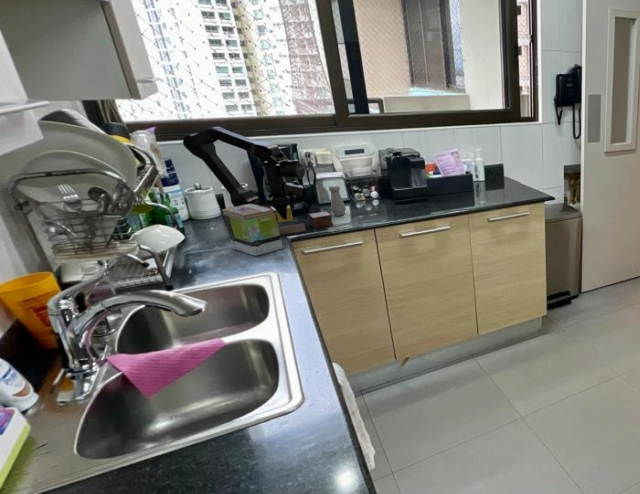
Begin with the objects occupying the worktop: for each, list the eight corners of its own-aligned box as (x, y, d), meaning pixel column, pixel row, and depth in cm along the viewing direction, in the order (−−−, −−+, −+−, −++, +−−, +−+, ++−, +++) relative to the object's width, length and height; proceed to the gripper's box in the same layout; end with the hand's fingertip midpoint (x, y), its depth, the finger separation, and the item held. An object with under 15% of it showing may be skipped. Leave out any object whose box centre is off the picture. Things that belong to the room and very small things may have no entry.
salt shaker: (342, 216, 203) (336, 187, 198) (329, 216, 203) (323, 186, 198) (349, 212, 208) (343, 183, 203) (336, 212, 208) (330, 183, 203)
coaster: (270, 237, 177) (270, 236, 177) (270, 228, 186) (270, 227, 186) (306, 232, 183) (306, 230, 183) (304, 224, 192) (304, 222, 192)
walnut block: (315, 228, 187) (312, 217, 185) (311, 224, 192) (308, 214, 190) (332, 225, 191) (330, 214, 189) (328, 221, 196) (326, 211, 194)
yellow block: (278, 222, 180) (275, 210, 178) (277, 219, 184) (274, 207, 182) (293, 220, 182) (290, 208, 180) (292, 217, 186) (289, 205, 184)
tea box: (284, 248, 166) (274, 208, 161) (254, 257, 158) (242, 215, 153) (262, 240, 173) (251, 202, 168) (232, 248, 165) (220, 208, 160)
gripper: (301, 180, 173) (310, 220, 179) (298, 171, 188) (306, 209, 194) (265, 183, 168) (276, 225, 174) (265, 174, 182) (275, 212, 188)
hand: (284, 217), depth 183 cm, fingers closed on yellow block, 5 cm apart
